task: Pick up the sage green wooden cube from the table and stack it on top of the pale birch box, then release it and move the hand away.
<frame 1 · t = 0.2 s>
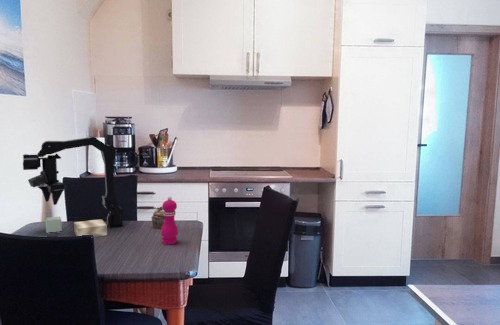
hand: (51, 203, 171), 14 cm above the table, tool pointing down, fingers open, 9 cm apart
cupcake: (161, 227, 185), on the table
cube: (53, 231, 174), on the table
pepper mill: (169, 242, 162), on the table
birch box: (90, 234, 172), on the table
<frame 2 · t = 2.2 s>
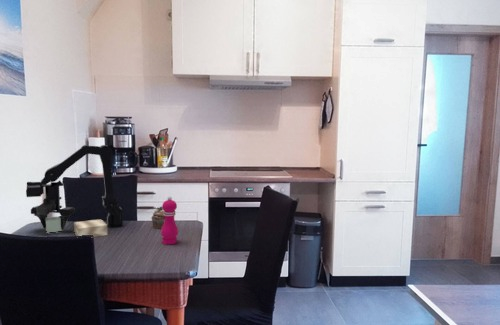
hand: (53, 228, 174), 1 cm above the table, tool pointing down, fingers closed on cube, 8 cm apart
cube: (53, 231, 174), on the table, touching gripper
everything else where it was.
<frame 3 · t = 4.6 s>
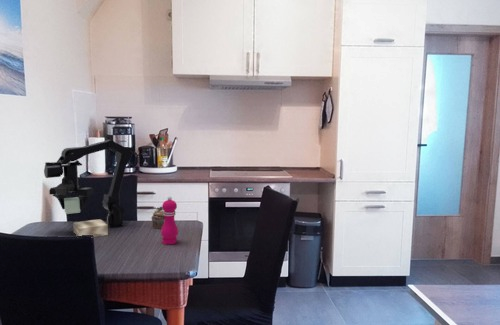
hand: (72, 209, 172), 11 cm above the table, tool pointing down, fingers closed on cube, 8 cm apart
cube: (72, 211, 172), point 10 cm above the table, touching gripper
everything else where it was.
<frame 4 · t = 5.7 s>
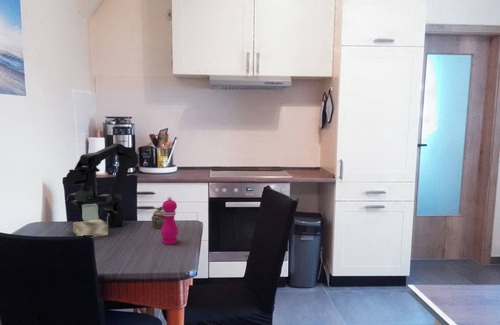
hand: (90, 216, 171), 8 cm above the table, tool pointing down, fingers closed on cube, 8 cm apart
cube: (90, 218, 171), point 7 cm above the table, touching gripper
everything else where it was.
when the fingers open (7 cm above the table, at t = 6.8 s): cube drops 2 cm, resting on birch box.
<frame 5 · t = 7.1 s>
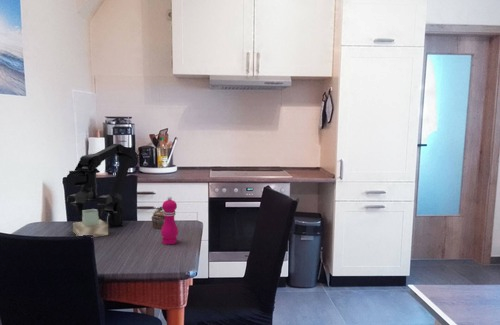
hand: (90, 217, 171), 7 cm above the table, tool pointing down, fingers open, 9 cm apart
cube: (90, 223, 171), point 5 cm above the table, touching birch box
birch box: (90, 234, 172), on the table, touching cube
everything else where it was.
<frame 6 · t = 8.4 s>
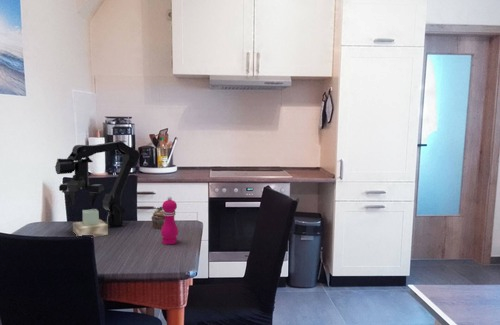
hand: (82, 206, 173), 12 cm above the table, tool pointing down, fingers open, 9 cm apart
nothing on the table moved.
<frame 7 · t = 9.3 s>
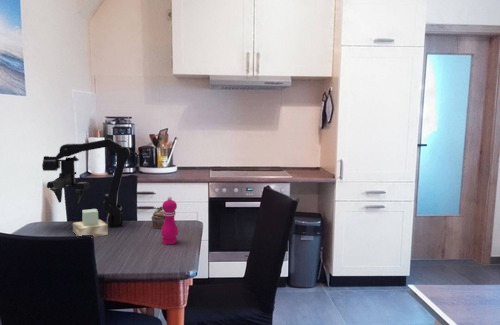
hand: (68, 202, 179), 12 cm above the table, tool pointing down, fingers open, 9 cm apart
cube: (90, 223, 171), point 5 cm above the table
birch box: (90, 234, 172), on the table
everything else where it was.
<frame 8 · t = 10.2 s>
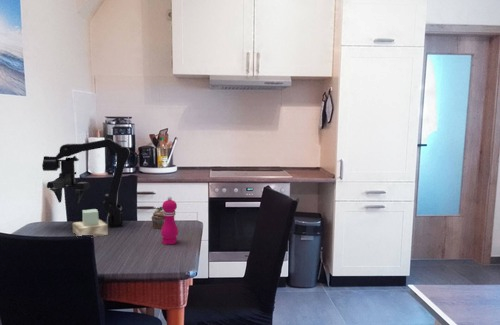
hand: (68, 202, 179), 12 cm above the table, tool pointing down, fingers open, 9 cm apart
cube: (90, 223, 171), point 5 cm above the table, touching birch box
birch box: (90, 234, 172), on the table, touching cube
everything else where it was.
at the end: cube inside the target area on the birch box (0.5 cm from its centre), point 5.0 cm above the birch box's base; cube touching birch box; the gripper is holding nothing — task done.
